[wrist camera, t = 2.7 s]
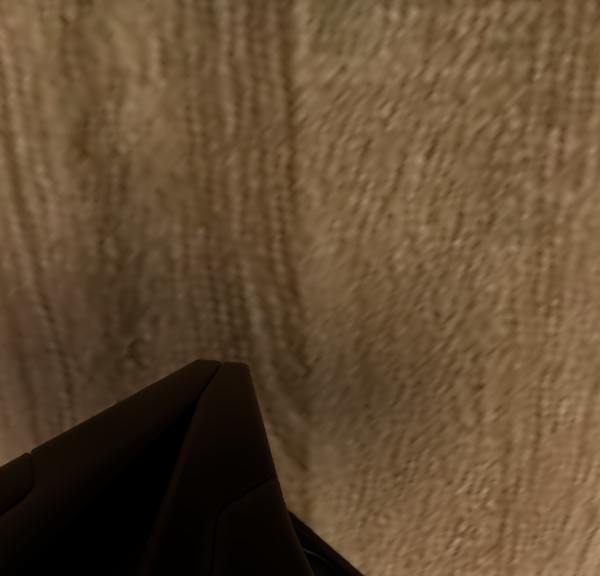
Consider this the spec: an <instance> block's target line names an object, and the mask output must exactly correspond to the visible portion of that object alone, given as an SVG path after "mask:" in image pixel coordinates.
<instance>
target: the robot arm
mask: <svg viewBox="0 0 600 576" xmlns="http://www.w3.org/2000/svg"><path fill="white" fill-rule="evenodd" d="M0 576H362V575H361V574H360V573H358V572H357V571H356V570H355V569H354V568H353V567H352V566H350V565H349V564H348V563H347V562H346V561H345V560H344V559H342V558H341V557H340V556H339V555H338V554H337V553H336V552H334V551H333V550H332V549H331V548H330V547H329V546H328V545H326V544H325V543H324V542H323V541H322V540H321V539H319V538H318V537H317V536H316V535H315V534H314V533H313V532H311V531H310V530H309V529H308V528H307V527H306V526H305V525H303V524H302V523H301V522H300V521H299V520H298V519H297V518H295V517H294V516H293V515H292V514H290V513H289V512H288V511H287V508H286V505H285V501H284V498H283V495H282V491H281V487H280V483H279V480H278V477H277V473H276V469H275V465H274V462H273V458H272V454H271V450H270V446H269V442H268V439H267V435H266V431H265V427H264V423H263V420H262V416H261V412H260V408H259V404H258V400H257V397H256V393H255V389H254V385H253V381H252V378H251V374H250V370H249V366H248V365H247V364H246V363H237V362H224V363H223V364H222V363H221V362H219V361H213V360H202V359H200V360H196V361H194V362H192V363H190V364H188V365H186V366H185V367H183V368H181V369H179V370H177V371H175V372H174V373H172V374H170V375H168V376H166V377H165V378H163V379H161V380H159V381H157V382H155V383H154V384H152V385H150V386H148V387H146V388H144V389H143V390H141V391H139V392H137V393H135V394H133V395H132V396H130V397H128V398H126V399H124V400H122V401H121V402H119V403H117V404H115V405H113V406H111V407H110V408H108V409H106V410H104V411H102V412H100V413H99V414H97V415H95V416H93V417H91V418H89V419H88V420H86V421H84V422H82V423H80V424H78V425H77V426H75V427H73V428H71V429H69V430H67V431H66V432H64V433H62V434H60V435H58V436H56V437H55V438H53V439H51V440H49V441H47V442H45V443H44V444H42V445H40V446H38V447H36V448H34V449H33V450H32V451H31V455H30V453H25V454H23V455H21V456H20V457H18V458H16V459H14V460H12V461H10V462H9V463H7V464H5V465H3V466H1V467H0Z"/></svg>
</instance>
